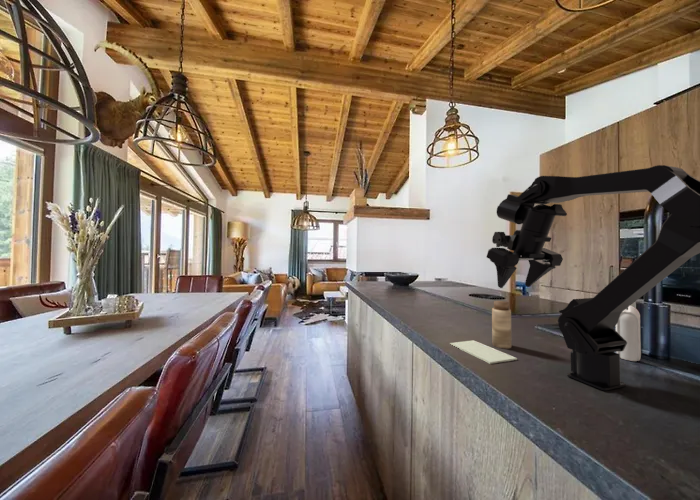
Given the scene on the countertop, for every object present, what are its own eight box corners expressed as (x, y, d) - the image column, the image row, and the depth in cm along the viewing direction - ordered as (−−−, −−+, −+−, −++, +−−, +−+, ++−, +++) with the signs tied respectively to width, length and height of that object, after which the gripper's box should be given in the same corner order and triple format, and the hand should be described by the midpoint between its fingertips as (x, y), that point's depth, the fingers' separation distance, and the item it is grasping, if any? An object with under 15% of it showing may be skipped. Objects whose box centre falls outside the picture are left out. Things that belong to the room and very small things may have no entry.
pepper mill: (515, 347, 72) (515, 302, 72) (502, 349, 71) (501, 303, 71) (501, 342, 77) (500, 300, 77) (488, 343, 75) (488, 300, 75)
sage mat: (517, 359, 64) (516, 358, 64) (490, 363, 61) (490, 362, 61) (473, 341, 77) (473, 340, 77) (450, 344, 75) (450, 343, 75)
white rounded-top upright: (616, 348, 72) (615, 301, 72) (640, 352, 68) (639, 304, 69) (615, 358, 64) (614, 307, 65) (641, 363, 61) (640, 309, 62)
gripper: (534, 222, 75) (515, 272, 80) (480, 219, 69) (464, 273, 75) (574, 234, 65) (550, 291, 70) (515, 232, 59) (494, 294, 65)
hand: (513, 286), depth 70 cm, fingers open, 9 cm apart
